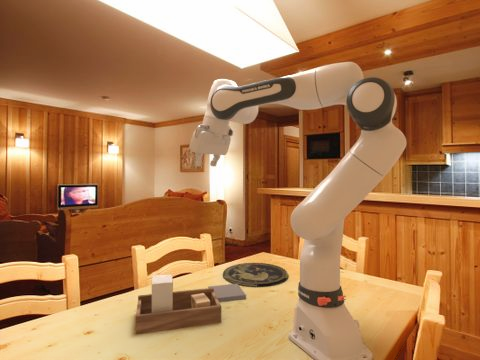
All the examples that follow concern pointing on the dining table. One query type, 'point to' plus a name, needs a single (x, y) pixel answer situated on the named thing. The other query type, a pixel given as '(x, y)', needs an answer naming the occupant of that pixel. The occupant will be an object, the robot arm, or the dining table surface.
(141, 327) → the tray
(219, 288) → the plate
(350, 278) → the dining table surface
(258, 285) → the decorative plate
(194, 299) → the offcut upper
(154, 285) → the small box
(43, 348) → the dining table surface
